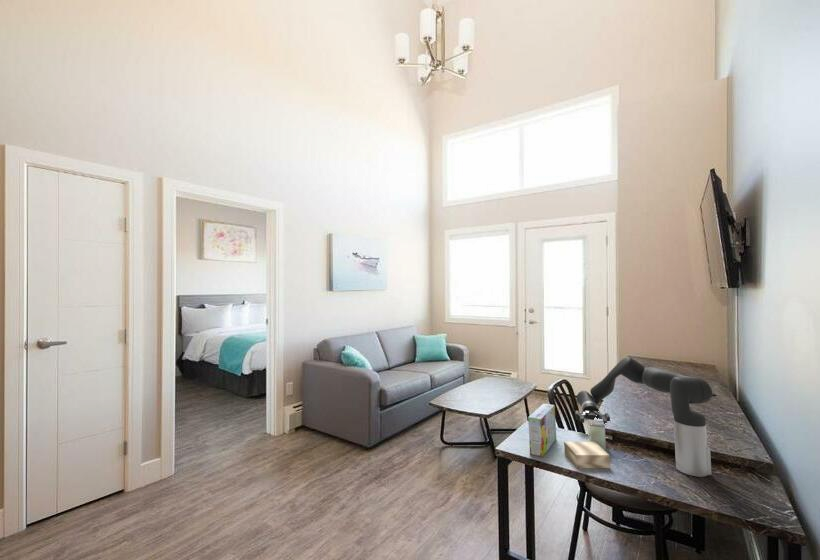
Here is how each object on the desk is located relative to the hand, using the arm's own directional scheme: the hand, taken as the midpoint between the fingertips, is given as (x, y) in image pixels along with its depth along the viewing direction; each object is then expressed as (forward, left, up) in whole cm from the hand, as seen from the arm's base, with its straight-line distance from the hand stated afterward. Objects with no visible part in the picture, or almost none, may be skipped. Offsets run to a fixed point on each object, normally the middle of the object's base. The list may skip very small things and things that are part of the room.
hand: (593, 421), depth 164 cm
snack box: (+25, +12, -7) cm, 28 cm away
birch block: (+12, +24, -7) cm, 28 cm away
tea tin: (+3, +11, -6) cm, 13 cm away
